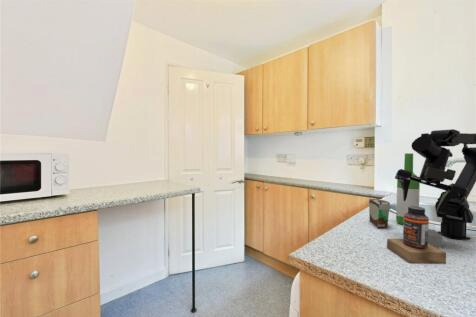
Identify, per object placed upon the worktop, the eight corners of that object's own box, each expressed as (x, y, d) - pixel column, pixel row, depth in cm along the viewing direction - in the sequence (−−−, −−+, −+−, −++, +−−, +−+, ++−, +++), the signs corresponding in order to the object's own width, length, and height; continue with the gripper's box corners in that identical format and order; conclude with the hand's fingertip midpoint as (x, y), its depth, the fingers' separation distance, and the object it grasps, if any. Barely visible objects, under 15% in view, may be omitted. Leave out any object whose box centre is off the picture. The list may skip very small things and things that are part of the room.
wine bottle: (411, 227, 95) (413, 153, 94) (391, 222, 102) (393, 153, 101) (422, 225, 98) (424, 153, 97) (403, 220, 105) (404, 153, 104)
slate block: (434, 241, 82) (434, 229, 82) (442, 248, 75) (442, 236, 75) (409, 238, 84) (410, 227, 84) (415, 245, 78) (415, 233, 78)
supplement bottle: (398, 243, 71) (399, 206, 71) (409, 239, 74) (410, 204, 74) (421, 250, 66) (422, 210, 66) (432, 246, 69) (433, 208, 68)
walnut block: (418, 248, 75) (418, 238, 75) (445, 263, 65) (446, 252, 65) (386, 247, 75) (387, 238, 75) (409, 262, 65) (409, 252, 65)
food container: (396, 230, 91) (397, 205, 91) (379, 229, 92) (379, 204, 92) (383, 221, 103) (384, 198, 103) (368, 220, 104) (368, 198, 104)
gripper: (407, 149, 78) (391, 192, 76) (482, 166, 69) (466, 216, 67) (401, 158, 87) (387, 197, 86) (466, 174, 78) (452, 218, 77)
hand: (420, 206), depth 79 cm, fingers open, 9 cm apart
